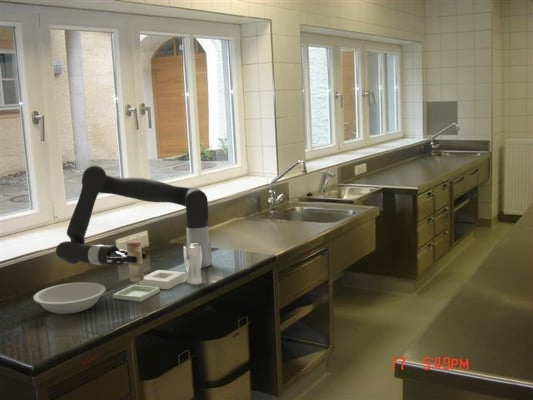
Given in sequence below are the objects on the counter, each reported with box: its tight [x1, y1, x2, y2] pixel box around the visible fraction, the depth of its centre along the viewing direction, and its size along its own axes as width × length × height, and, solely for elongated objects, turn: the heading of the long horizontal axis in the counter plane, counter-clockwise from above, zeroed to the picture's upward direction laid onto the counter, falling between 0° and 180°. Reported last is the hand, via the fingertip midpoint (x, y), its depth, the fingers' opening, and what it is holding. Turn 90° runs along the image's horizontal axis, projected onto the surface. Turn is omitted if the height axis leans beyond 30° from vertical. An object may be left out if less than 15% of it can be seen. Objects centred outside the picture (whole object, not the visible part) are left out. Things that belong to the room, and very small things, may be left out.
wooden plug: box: [126, 240, 145, 282], centre depth 229 cm, size 5×5×14 cm
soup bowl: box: [32, 281, 107, 315], centre depth 218 cm, size 24×24×7 cm
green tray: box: [112, 284, 161, 302], centre depth 231 cm, size 12×12×2 cm
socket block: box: [138, 269, 187, 290], centre depth 244 cm, size 13×13×4 cm
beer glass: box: [183, 243, 203, 286], centre depth 243 cm, size 7×7×15 cm
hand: (141, 257), depth 228 cm, fingers closed on wooden plug, 5 cm apart
